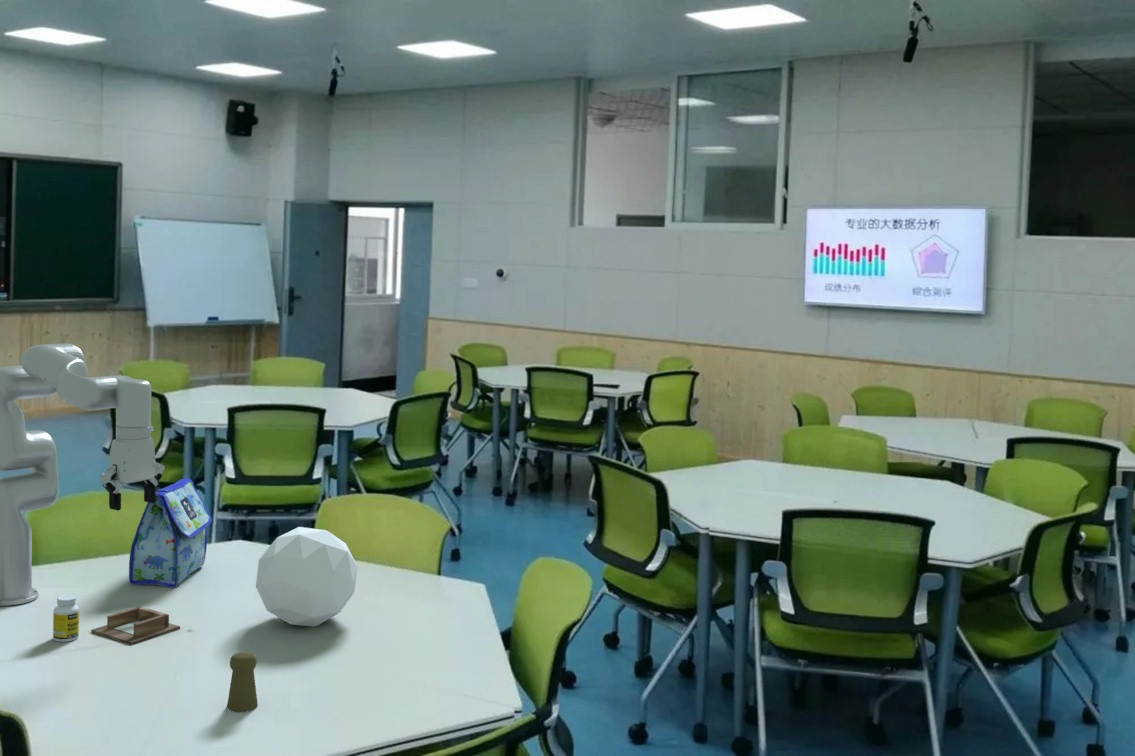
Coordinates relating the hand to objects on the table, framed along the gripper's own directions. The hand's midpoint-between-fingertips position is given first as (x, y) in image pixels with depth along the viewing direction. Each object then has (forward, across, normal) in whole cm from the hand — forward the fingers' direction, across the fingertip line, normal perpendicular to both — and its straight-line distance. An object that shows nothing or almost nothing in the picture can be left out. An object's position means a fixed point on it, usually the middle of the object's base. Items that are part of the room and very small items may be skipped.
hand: (132, 505), depth 255 cm
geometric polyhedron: (+31, -32, +25) cm, 51 cm away
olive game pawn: (+31, +14, +50) cm, 61 cm away
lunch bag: (+32, -38, -30) cm, 58 cm away
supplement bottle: (+31, +10, -10) cm, 34 cm away
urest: (+31, -3, -2) cm, 31 cm away
